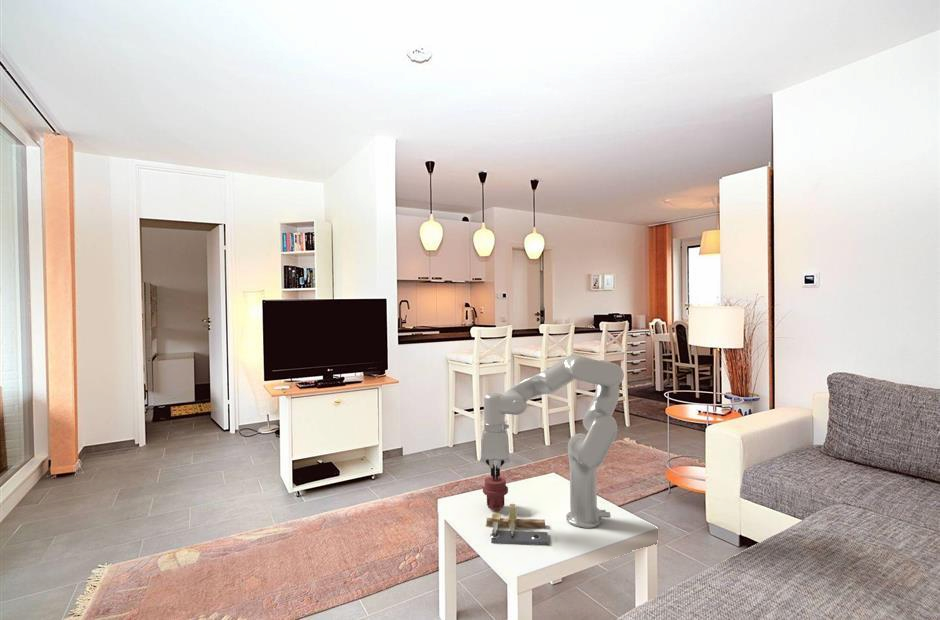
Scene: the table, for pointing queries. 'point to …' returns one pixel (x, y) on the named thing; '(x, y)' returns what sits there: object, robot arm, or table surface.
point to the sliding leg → (512, 519)
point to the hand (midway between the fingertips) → (495, 478)
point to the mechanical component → (495, 492)
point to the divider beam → (525, 523)
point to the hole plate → (520, 537)
